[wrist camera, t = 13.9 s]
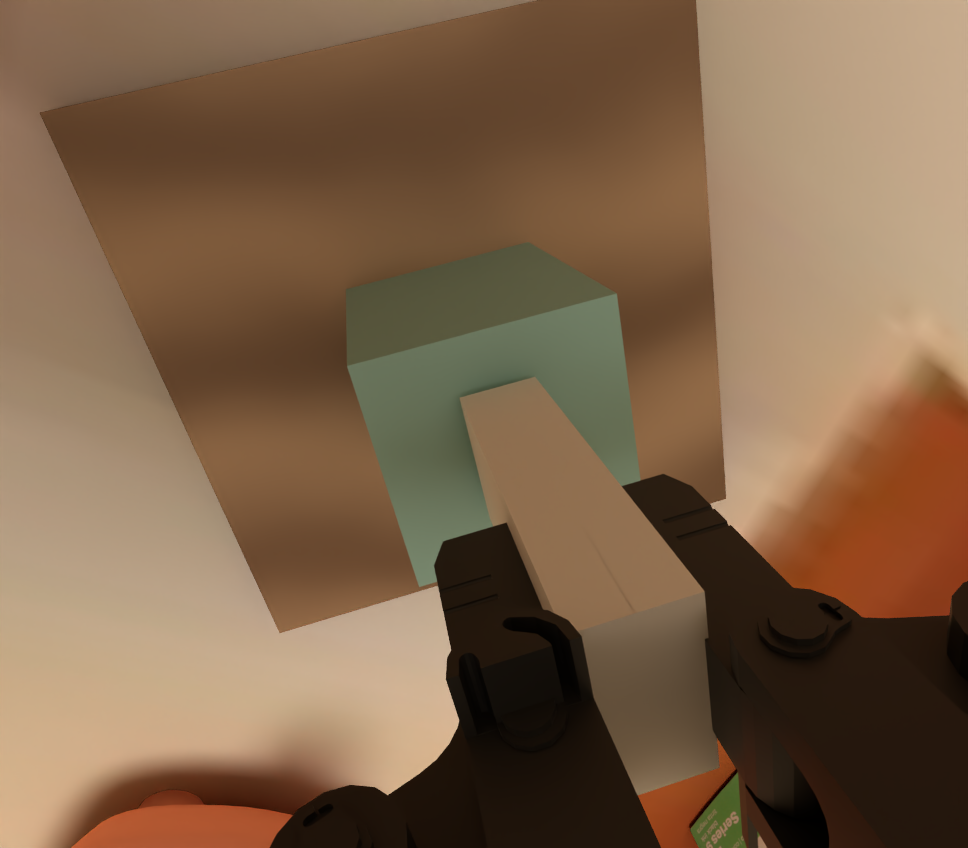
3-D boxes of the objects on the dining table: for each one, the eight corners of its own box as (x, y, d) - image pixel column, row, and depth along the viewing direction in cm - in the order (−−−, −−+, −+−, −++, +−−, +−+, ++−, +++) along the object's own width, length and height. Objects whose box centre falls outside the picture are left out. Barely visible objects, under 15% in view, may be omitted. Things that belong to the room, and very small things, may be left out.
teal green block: (345, 289, 18) (346, 366, 12) (528, 241, 18) (616, 293, 12) (396, 453, 20) (419, 586, 14) (558, 407, 21) (645, 518, 15)
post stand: (53, 113, 16) (-91, 103, 11) (679, -28, 17) (826, -100, 12) (281, 617, 23) (263, 761, 17) (714, 487, 24) (817, 585, 19)
